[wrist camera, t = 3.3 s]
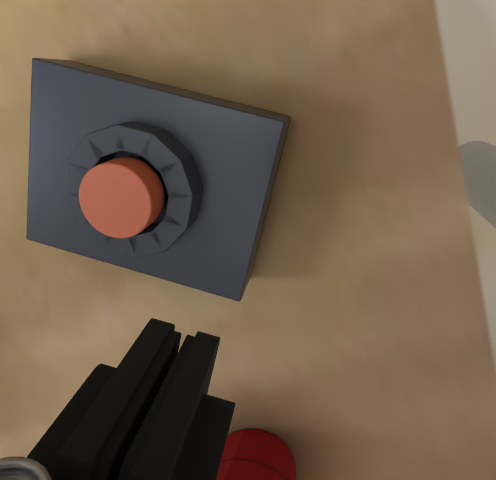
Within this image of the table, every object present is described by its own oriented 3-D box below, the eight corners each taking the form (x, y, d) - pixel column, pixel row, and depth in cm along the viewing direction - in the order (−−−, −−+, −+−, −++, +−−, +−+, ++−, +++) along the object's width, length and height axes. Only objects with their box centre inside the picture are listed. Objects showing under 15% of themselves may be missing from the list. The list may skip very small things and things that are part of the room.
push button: (170, 167, 21) (156, 174, 19) (159, 235, 22) (146, 247, 21) (100, 148, 21) (80, 153, 20) (93, 216, 22) (75, 227, 21)
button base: (291, 116, 23) (280, 125, 19) (250, 278, 27) (233, 318, 23) (67, 60, 25) (6, 55, 20) (57, 222, 28) (4, 250, 24)
